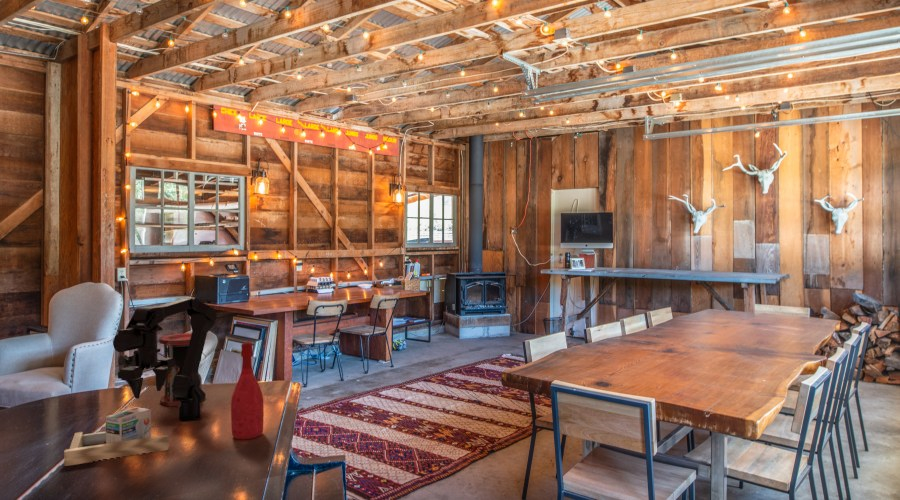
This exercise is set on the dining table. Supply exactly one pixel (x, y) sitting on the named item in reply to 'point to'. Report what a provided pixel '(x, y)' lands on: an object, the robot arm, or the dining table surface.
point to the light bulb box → (128, 425)
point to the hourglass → (178, 352)
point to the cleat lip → (94, 438)
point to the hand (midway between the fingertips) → (148, 394)
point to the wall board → (111, 449)
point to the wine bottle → (247, 401)
